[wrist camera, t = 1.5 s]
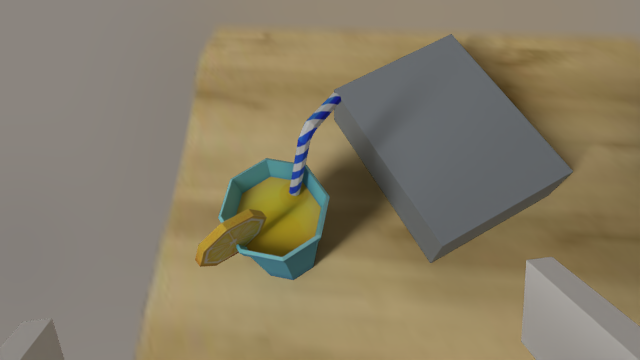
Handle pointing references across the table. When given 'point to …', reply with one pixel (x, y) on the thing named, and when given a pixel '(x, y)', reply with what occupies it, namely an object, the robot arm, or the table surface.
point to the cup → (273, 211)
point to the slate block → (446, 145)
